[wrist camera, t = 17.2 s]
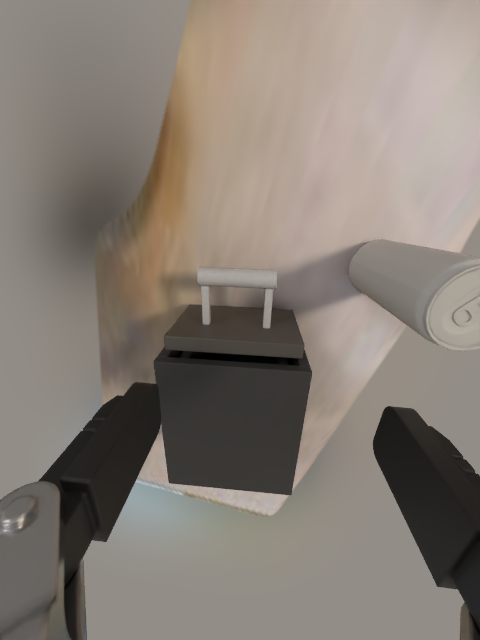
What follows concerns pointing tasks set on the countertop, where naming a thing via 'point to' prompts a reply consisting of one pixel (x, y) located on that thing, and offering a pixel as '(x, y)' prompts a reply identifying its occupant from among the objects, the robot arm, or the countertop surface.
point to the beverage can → (423, 289)
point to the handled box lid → (236, 323)
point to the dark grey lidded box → (232, 421)
